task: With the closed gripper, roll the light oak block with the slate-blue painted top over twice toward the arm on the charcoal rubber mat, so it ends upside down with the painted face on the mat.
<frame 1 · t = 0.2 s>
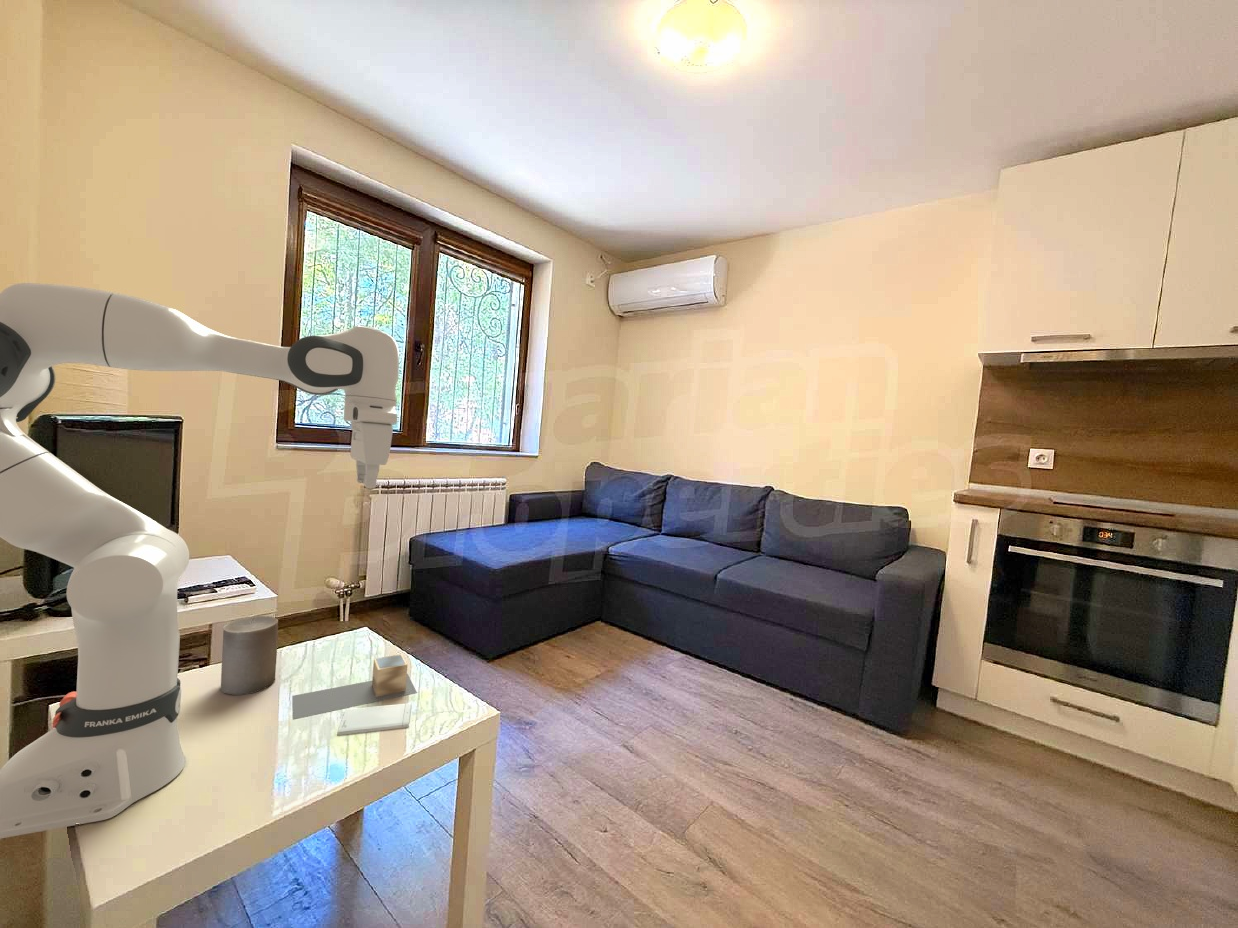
hand: (365, 485, 91), 47 cm above the table, tool pointing down, fingers open, 8 cm apart
hard drive: (376, 724, 95), on the table
oak block: (388, 687, 107), resting on rubber mat
rubber mat: (356, 695, 104), on the table
pillar candle: (247, 685, 105), on the table
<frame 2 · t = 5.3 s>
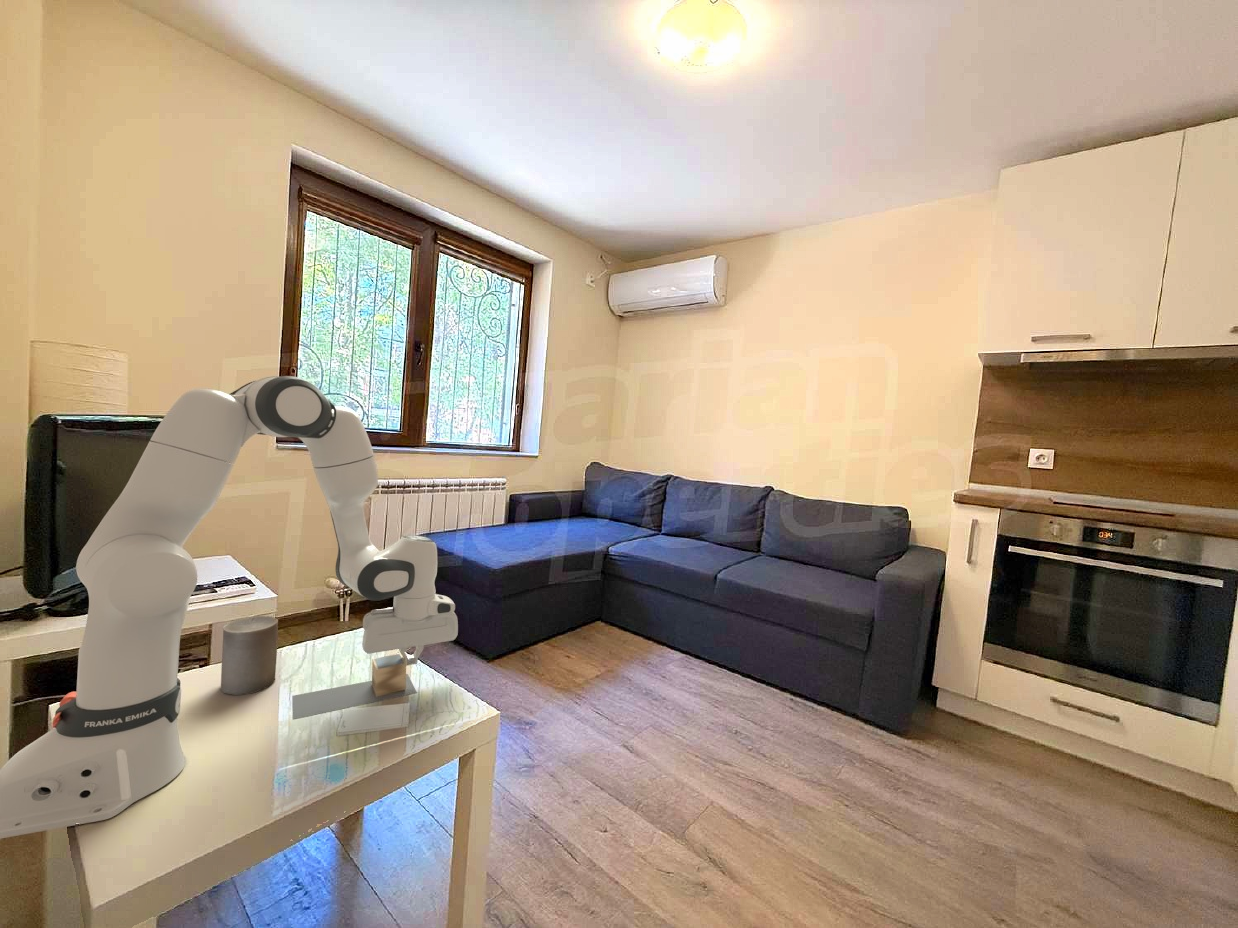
hand: (410, 664, 110), 5 cm above the table, tool pointing down, fingers closed
oak block: (388, 686, 107), resting on rubber mat, touching gripper
everything else where it was.
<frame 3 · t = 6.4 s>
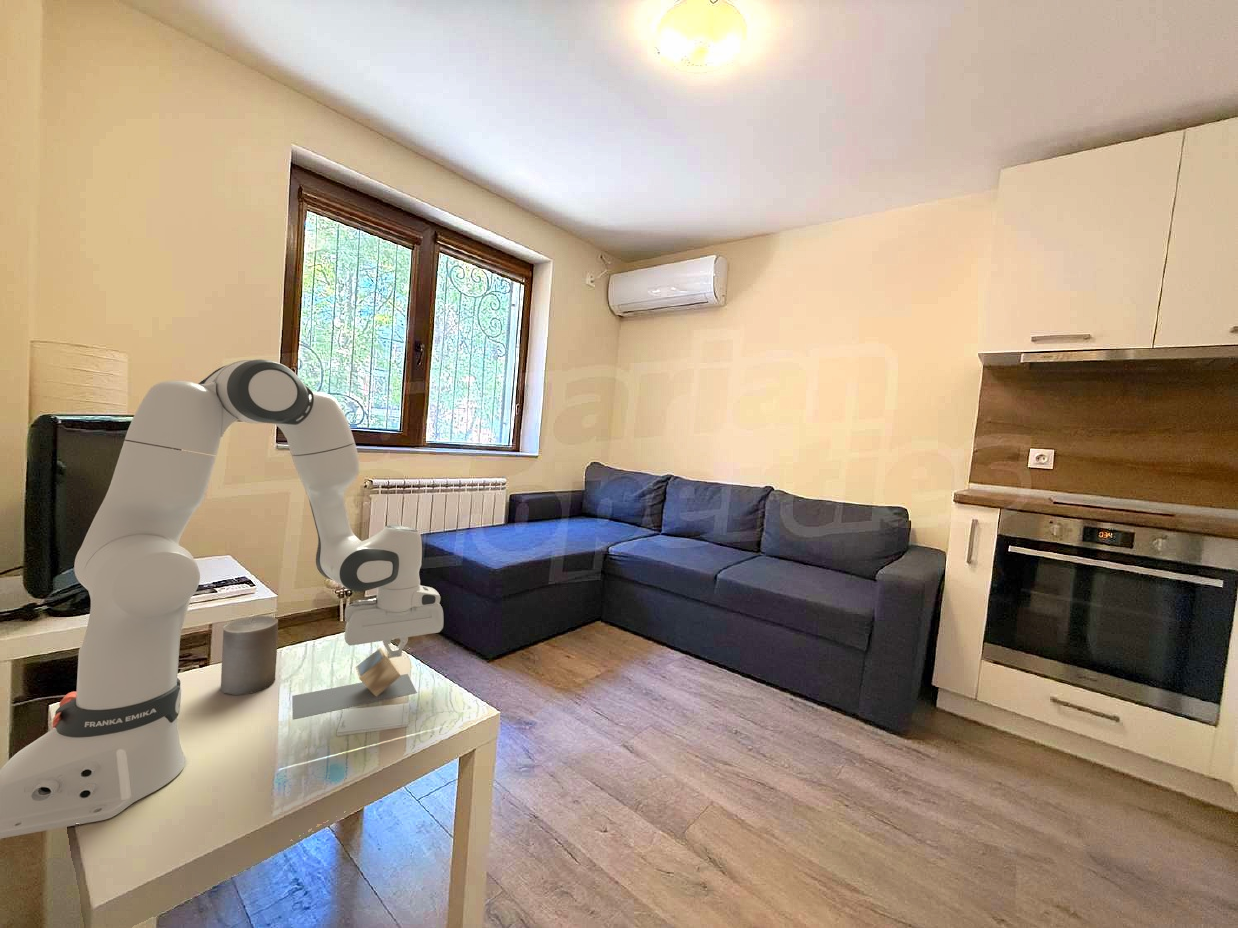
hand: (394, 656, 108), 7 cm above the table, tool pointing down, fingers closed
oak block: (386, 680, 107), point 2 cm above the table, tilted 37°, touching gripper, rubber mat
everything else where it was.
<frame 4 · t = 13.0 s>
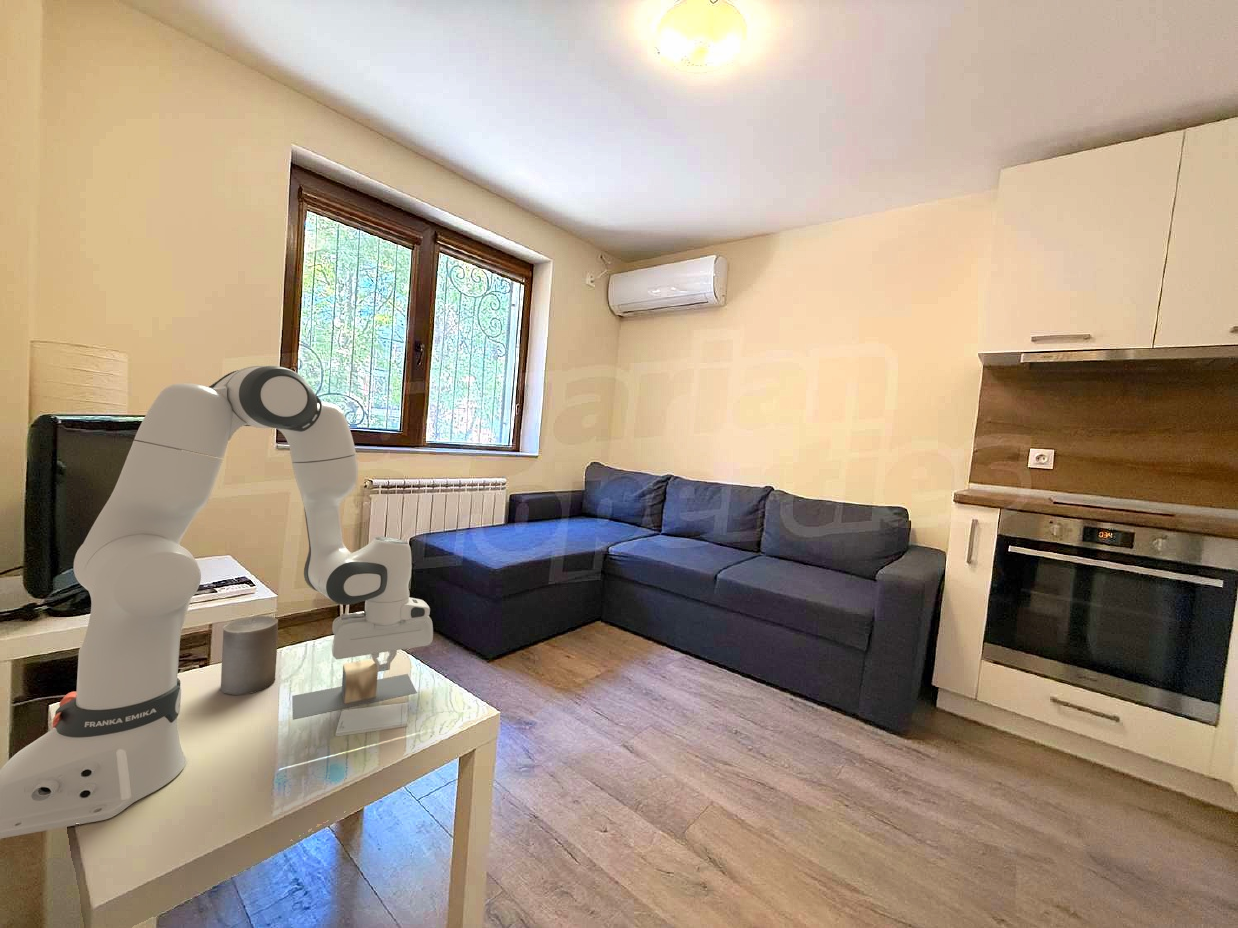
hand: (382, 669, 106), 5 cm above the table, tool pointing down, fingers closed
oak block: (374, 677, 106), point 3 cm above the table, tilted 90°, touching gripper, rubber mat
everything else where it was.
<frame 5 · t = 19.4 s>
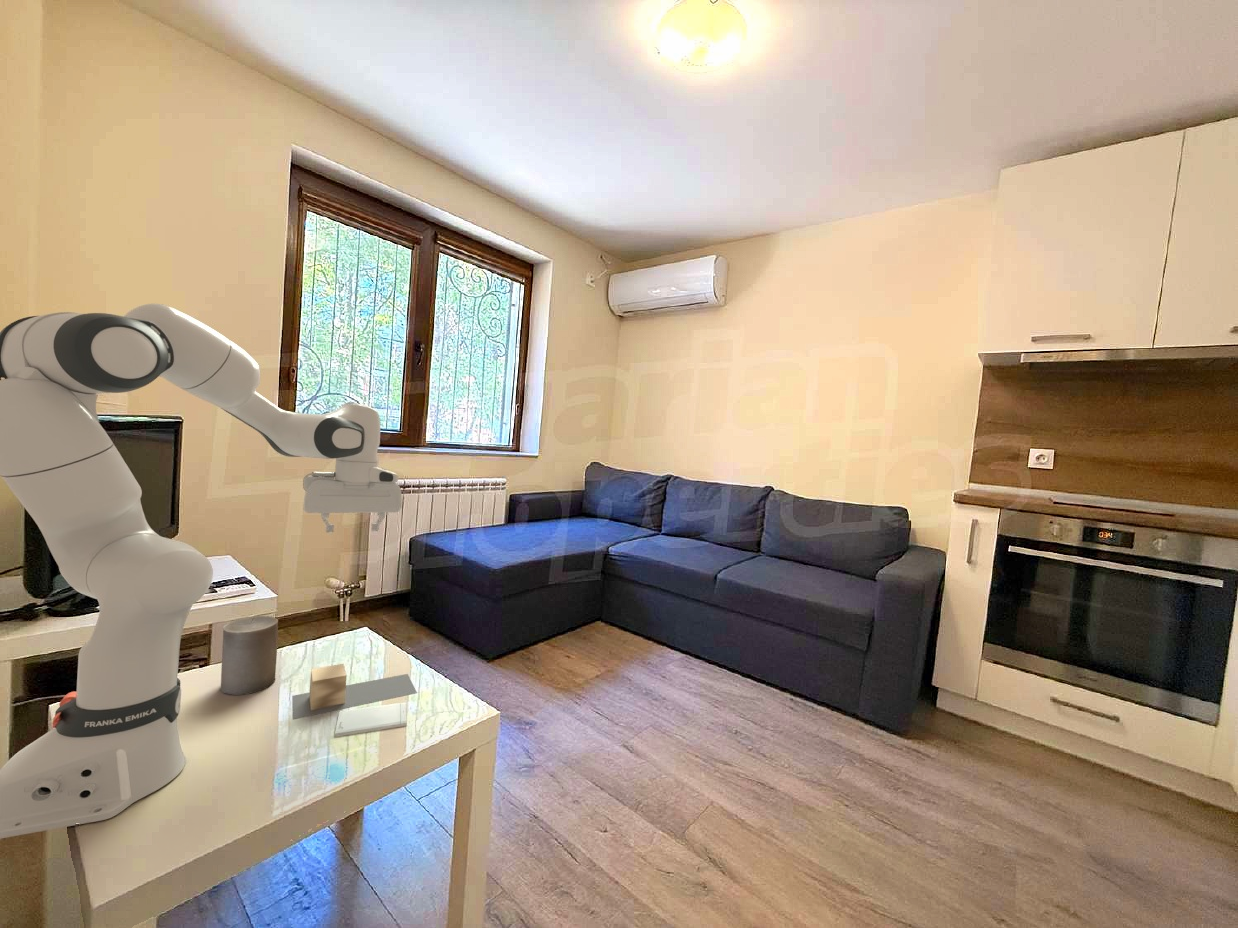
hand: (352, 531, 112), 34 cm above the table, tool pointing down, fingers open, 8 cm apart
oak block: (328, 672, 100), point 6 cm above the table, tilted 180°, touching rubber mat
everything else where it was.
at the end: oak block tilted 180°; oak block inside the target area (0.5 cm from its centre), point 6.3 cm above the table; oak block touching rubber mat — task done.
